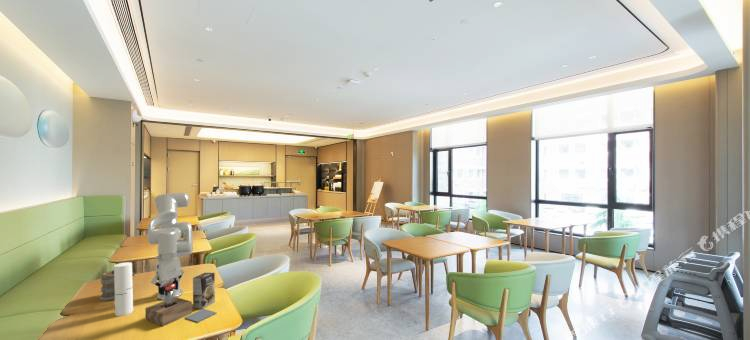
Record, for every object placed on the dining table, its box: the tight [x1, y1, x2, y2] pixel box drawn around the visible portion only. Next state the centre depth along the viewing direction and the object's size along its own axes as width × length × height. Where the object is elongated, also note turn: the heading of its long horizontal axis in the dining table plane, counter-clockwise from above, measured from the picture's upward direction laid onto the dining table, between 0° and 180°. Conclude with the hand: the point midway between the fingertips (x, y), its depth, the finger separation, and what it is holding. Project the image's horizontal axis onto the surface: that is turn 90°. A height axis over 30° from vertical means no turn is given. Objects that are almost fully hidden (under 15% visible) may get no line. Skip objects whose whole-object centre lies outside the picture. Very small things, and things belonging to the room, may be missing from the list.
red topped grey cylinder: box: [163, 282, 176, 308], centre depth 153 cm, size 6×6×16 cm
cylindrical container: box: [113, 261, 134, 317], centre depth 157 cm, size 7×7×25 cm
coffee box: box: [192, 272, 216, 310], centre depth 165 cm, size 9×6×16 cm
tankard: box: [99, 269, 136, 302], centre depth 178 cm, size 20×13×15 cm, turn 76°
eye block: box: [144, 297, 193, 327], centre depth 153 cm, size 14×14×6 cm
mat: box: [184, 308, 218, 323], centre depth 153 cm, size 10×10×1 cm
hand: (168, 291), depth 153 cm, fingers closed on red topped grey cylinder, 6 cm apart
